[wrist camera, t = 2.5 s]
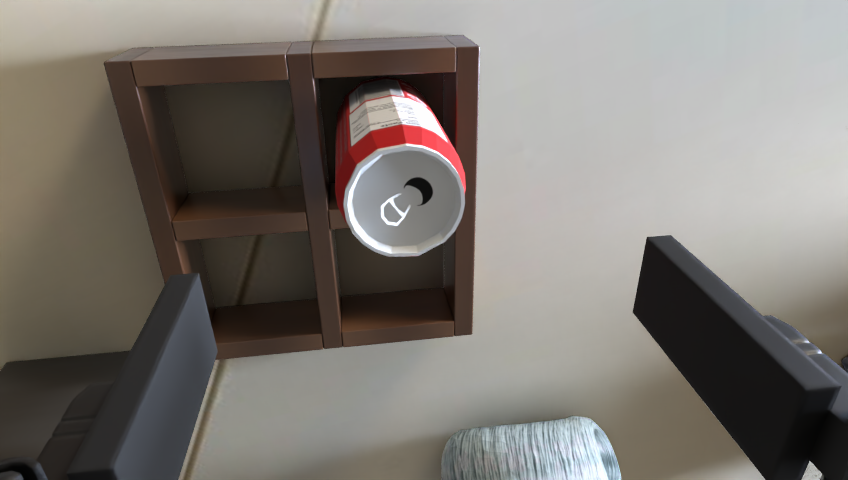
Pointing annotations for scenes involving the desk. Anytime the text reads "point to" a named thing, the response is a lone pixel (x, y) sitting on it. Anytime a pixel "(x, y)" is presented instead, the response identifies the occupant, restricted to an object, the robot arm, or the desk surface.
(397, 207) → the soda can
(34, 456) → the block
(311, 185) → the can rack
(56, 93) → the desk surface
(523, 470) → the yarn skein
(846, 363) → the small box
